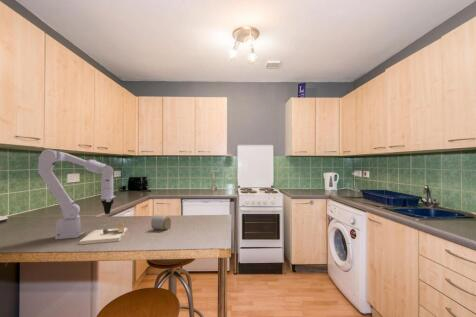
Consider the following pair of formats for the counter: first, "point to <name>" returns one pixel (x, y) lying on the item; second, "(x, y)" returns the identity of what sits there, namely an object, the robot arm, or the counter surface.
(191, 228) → the counter surface
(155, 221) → the grey cylinder
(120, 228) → the wooden handled crank
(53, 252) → the counter surface
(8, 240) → the counter surface
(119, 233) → the board
